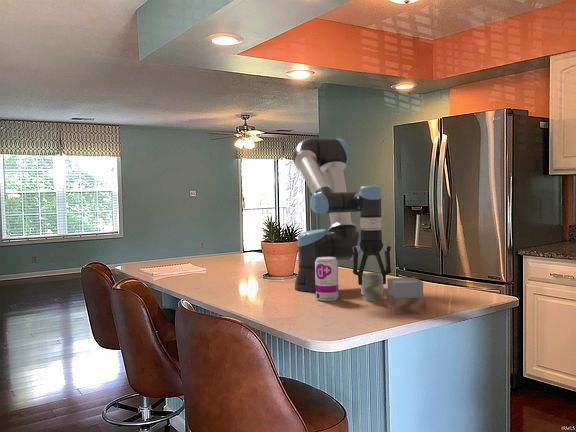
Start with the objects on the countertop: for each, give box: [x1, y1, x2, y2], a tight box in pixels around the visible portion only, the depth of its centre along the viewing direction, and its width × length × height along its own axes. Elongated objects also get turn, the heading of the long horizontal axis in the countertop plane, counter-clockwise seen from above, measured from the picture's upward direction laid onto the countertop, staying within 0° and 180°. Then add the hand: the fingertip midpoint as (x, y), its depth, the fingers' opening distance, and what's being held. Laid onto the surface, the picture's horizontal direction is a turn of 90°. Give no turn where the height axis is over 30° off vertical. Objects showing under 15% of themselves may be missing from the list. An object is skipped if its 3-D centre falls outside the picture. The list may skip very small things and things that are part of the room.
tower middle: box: [386, 276, 424, 299], centre depth 167 cm, size 9×9×5 cm
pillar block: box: [361, 272, 383, 302], centre depth 186 cm, size 6×6×9 cm
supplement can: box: [315, 257, 339, 302], centre depth 187 cm, size 8×8×15 cm
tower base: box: [386, 292, 427, 315], centre depth 167 cm, size 10×10×5 cm
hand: (372, 293), depth 186 cm, fingers closed on pillar block, 6 cm apart
